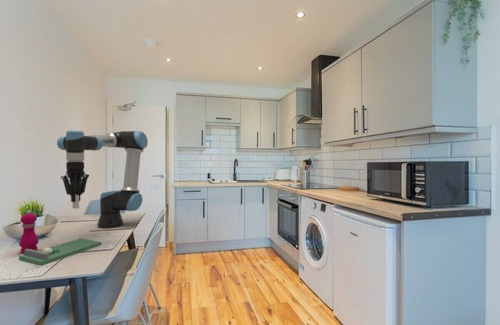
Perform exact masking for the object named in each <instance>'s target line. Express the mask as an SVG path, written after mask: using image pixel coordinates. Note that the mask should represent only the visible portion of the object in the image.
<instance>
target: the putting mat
mask: <svg viewBox="0 0 500 325" xmlns="http://www.w3.org/2000/svg"><path fill="white" fill-rule="evenodd" d="M98 245H100V246H102V241H98V240H91V239H87V238H77V239H72V240H71V241H67V242H64V243H60V244H57V245H56V244H55V245H52V246H50V247H49V248H51V249H52V250H53V252H52V254H51V255H49V253H44V252H42V250H43V249H44V248H42V249H39V250H37V251H35V250H31V249H25V254H22V255H18V260H19V261H21V262H27V263H29V262H30V263H29V264H33V263H34V264H35V265H37V264H38V265H37V266H43V265H48V264H50V263H52V262H55V261H58V260H61V259H64V258H68V257H71V256H73V255H76V254H79V253H81V252H85V251H88V250H91V249H94V248H96V247H95V246H97V247H99V246H98ZM93 247H94V248H93ZM90 248H91V249H90ZM87 249H88V250H87Z"/></svg>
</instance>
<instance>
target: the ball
mask: <svg viewBox="0 0 500 325" xmlns="http://www.w3.org/2000/svg"><path fill="white" fill-rule="evenodd" d="M42 249H43V250H42ZM42 249H41V250H42V252H44V253H49V255H51V254H52V252H53V250H52V249H51V248H49V247H44V248H42Z"/></svg>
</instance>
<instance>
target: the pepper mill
mask: <svg viewBox="0 0 500 325" xmlns="http://www.w3.org/2000/svg"><path fill="white" fill-rule="evenodd" d="M37 220H38V216H37V215H36V214H35V213H32V211H31V210H30V209H29V210H27V211H26V214H22V215H21V216H20V223H22V224H21V228H23V231H22V235H21V236H20V240H19V242H18V246H19V247H20V253H21V254H22V255H25V249H31V250H35V251H38V244H39V242H40V240H39V237H38V236H37V233H36V231H35V227H36V221H37Z"/></svg>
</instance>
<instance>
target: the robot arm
mask: <svg viewBox="0 0 500 325" xmlns="http://www.w3.org/2000/svg"><path fill="white" fill-rule="evenodd" d="M148 142H149V141H148V138H147V135H146V133H145V132H143V131H141V130H131V131H130V130H129V131H127V130H125V131H124V130H123V131H115V132H111V133H110V132H108V133H105V134H99V135H85V132H84V131H83V130H75V129H74V130H67V131H66V134H65V136H61V137H59V138H58V139H57V140H56V145H57V147H58V148H59V150H61V151H66V153H65V156H66V157H65V159H66V163H65V165H66V166H65V167H66V172H65V174H64V175H61V176H60V179H61V180H62V182H63V185H64V189H65V193H66V195H68V196H70V201H71V202H72V209H80V201H81V195H83V194H85V191H86V187H87V182H88V178H89V176H90V175H89V174H86V173H85V151H93V152H94V151H100V150H101V149H102V148H104V147H107V148H117V149H118V148H120V149H124V151H125V152H126V158H125V168H124V176H123V185H122V186H123V187H122V188H121V189H120V190H110V191H105V192H101V194H100V198H99V200H100V202H99V204H100V215H99V218H98V222H97V228H99V229H112V228H118V227H121V226H123V225H124V220H123V218H122V214H121V211H124V212H126V211H127V212H134V211H137V210H139V208H140V207H141V205H142V204H143V196H142V193H140V190H139V189H138V186H139V185H138V184H139V182H138V181H139V173H140V166H141V164H140V163H141V154H142V153H143V152H144V149H145V148H147V147H148Z"/></svg>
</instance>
